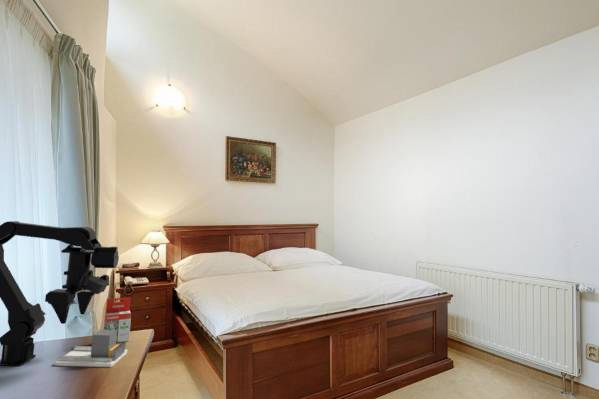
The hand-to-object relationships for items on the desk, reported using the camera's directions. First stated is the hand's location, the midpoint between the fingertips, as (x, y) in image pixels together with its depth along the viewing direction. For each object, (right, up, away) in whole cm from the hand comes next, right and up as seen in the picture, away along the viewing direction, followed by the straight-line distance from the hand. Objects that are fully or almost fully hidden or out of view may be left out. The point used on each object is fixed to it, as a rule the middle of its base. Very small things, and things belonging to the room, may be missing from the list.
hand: (73, 318), depth 99 cm
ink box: (+5, -13, +14) cm, 20 cm away
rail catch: (+12, -11, 0) cm, 17 cm away
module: (+9, -11, 0) cm, 15 cm away
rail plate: (+6, -12, 0) cm, 14 cm away
